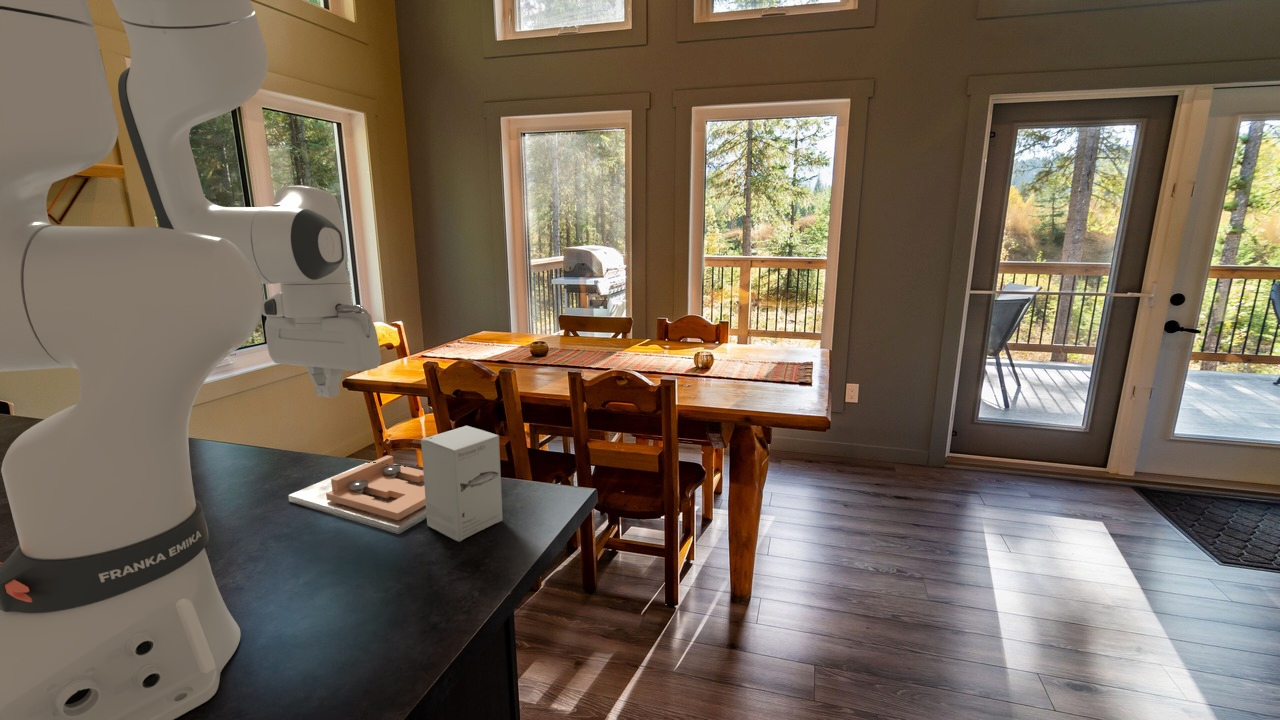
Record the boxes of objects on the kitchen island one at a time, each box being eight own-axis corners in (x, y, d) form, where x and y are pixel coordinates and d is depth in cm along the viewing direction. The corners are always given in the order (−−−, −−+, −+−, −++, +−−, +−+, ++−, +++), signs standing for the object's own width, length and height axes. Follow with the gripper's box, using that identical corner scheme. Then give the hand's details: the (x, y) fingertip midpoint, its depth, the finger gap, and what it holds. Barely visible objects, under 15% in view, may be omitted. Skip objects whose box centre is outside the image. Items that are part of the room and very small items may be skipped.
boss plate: (398, 534, 75) (396, 511, 74) (289, 501, 84) (286, 481, 83) (471, 491, 87) (470, 472, 86) (369, 467, 96) (367, 449, 95)
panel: (398, 520, 76) (396, 500, 75) (326, 499, 81) (324, 481, 81) (461, 485, 86) (460, 468, 86) (394, 469, 92) (392, 453, 91)
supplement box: (459, 544, 72) (452, 450, 70) (425, 526, 77) (418, 437, 74) (505, 521, 78) (500, 434, 76) (471, 506, 83) (466, 423, 80)
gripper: (387, 303, 81) (395, 397, 84) (293, 301, 90) (303, 386, 92) (348, 306, 76) (358, 407, 78) (252, 303, 84) (264, 394, 86)
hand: (328, 396), depth 85 cm, fingers closed
